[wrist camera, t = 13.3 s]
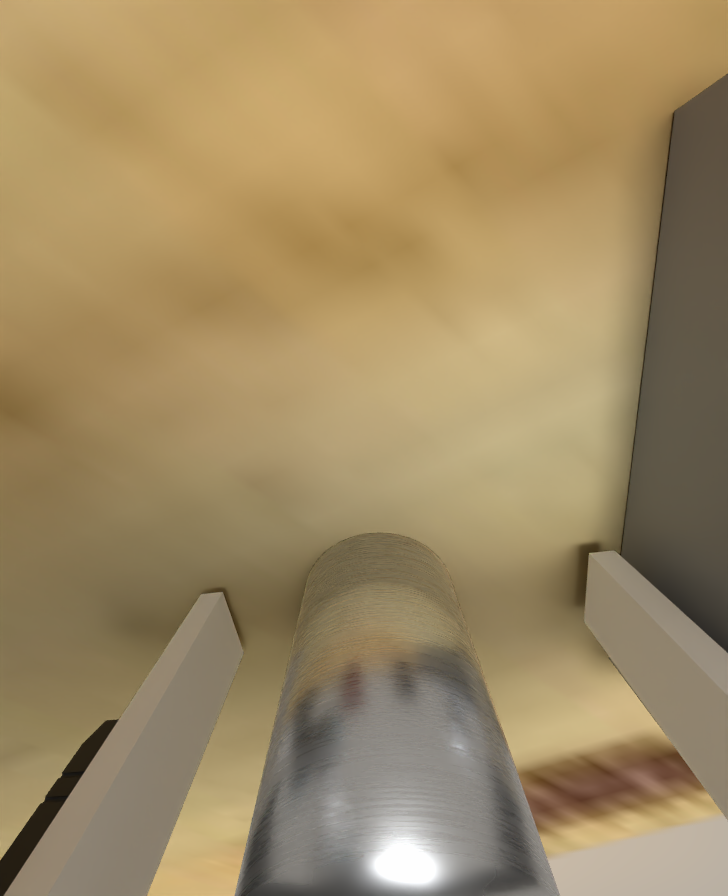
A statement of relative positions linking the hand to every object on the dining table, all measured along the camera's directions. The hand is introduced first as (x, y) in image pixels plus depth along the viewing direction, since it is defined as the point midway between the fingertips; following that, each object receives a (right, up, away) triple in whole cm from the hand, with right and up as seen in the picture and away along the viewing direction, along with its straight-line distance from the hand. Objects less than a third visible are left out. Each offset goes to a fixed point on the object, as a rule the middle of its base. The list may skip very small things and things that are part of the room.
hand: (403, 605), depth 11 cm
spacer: (-1, 0, 0) cm, 1 cm away
